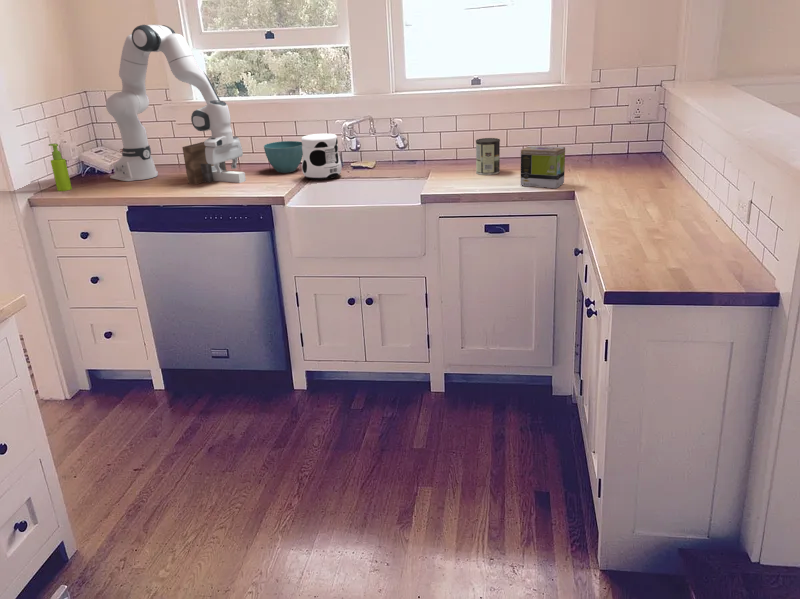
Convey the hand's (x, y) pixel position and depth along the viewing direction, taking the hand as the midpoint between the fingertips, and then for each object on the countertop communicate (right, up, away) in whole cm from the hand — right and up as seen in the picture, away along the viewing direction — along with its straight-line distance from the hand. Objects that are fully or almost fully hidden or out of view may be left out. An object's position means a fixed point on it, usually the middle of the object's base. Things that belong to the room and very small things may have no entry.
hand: (226, 170), depth 310 cm
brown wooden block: (-9, -3, +6) cm, 11 cm away
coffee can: (+115, -2, -6) cm, 115 cm away
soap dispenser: (-72, -8, 0) cm, 73 cm away
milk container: (+43, -3, -1) cm, 43 cm away
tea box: (+133, -12, -32) cm, 137 cm away
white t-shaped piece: (0, -4, +2) cm, 5 cm away
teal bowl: (+24, +3, +16) cm, 29 cm away
